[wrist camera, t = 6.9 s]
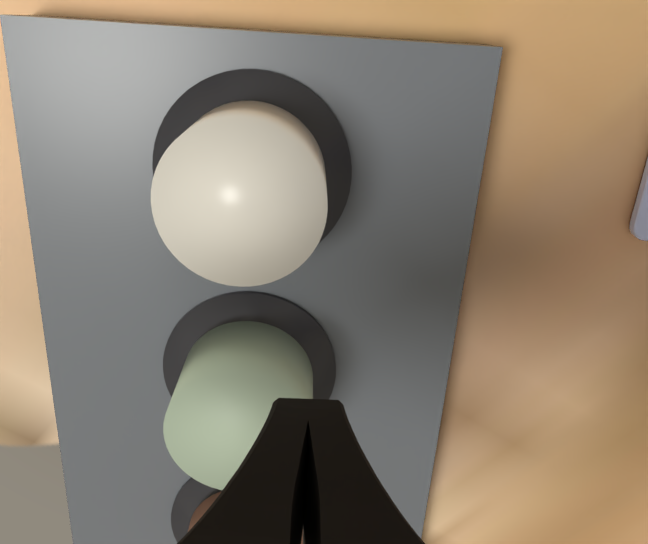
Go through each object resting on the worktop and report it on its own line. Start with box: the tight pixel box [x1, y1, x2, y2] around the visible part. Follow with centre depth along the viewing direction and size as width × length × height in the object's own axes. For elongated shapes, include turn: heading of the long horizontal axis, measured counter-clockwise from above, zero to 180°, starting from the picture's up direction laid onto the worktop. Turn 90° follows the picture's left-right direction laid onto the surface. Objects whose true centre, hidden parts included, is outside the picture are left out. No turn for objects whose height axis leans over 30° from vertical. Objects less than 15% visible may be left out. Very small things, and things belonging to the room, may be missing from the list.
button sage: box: [163, 321, 313, 490], centre depth 19 cm, size 4×4×3 cm
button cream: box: [151, 101, 328, 287], centre depth 16 cm, size 4×4×3 cm
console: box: [0, 15, 503, 544], centre depth 22 cm, size 14×22×2 cm, turn 177°
